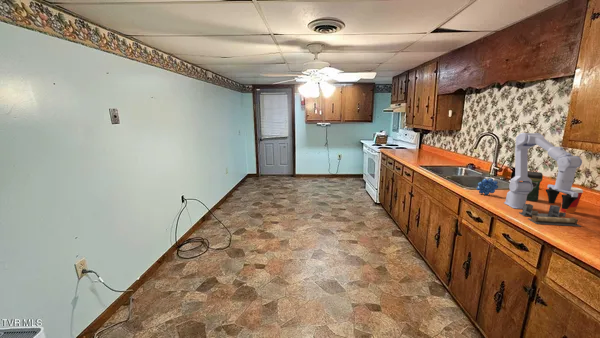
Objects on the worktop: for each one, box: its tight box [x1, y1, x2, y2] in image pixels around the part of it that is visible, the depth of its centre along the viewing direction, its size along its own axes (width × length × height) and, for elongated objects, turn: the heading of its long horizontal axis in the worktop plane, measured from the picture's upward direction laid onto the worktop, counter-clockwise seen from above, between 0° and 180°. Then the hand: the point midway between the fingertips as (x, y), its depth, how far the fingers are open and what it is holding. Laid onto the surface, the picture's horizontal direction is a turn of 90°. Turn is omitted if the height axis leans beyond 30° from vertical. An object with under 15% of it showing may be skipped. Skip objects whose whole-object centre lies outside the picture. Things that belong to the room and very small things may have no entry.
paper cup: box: [560, 186, 584, 214], centre depth 140 cm, size 8×8×14 cm
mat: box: [527, 218, 582, 228], centre depth 127 cm, size 6×20×1 cm, turn 82°
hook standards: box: [518, 203, 567, 218], centre depth 133 cm, size 7×18×6 cm, turn 82°
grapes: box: [475, 177, 499, 196], centre depth 169 cm, size 12×7×12 cm, turn 56°
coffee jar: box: [526, 170, 544, 202], centre depth 160 cm, size 10×8×19 cm
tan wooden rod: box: [531, 215, 579, 224], centre depth 126 cm, size 19×3×3 cm, turn 82°
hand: (557, 205), depth 125 cm, fingers open, 7 cm apart
